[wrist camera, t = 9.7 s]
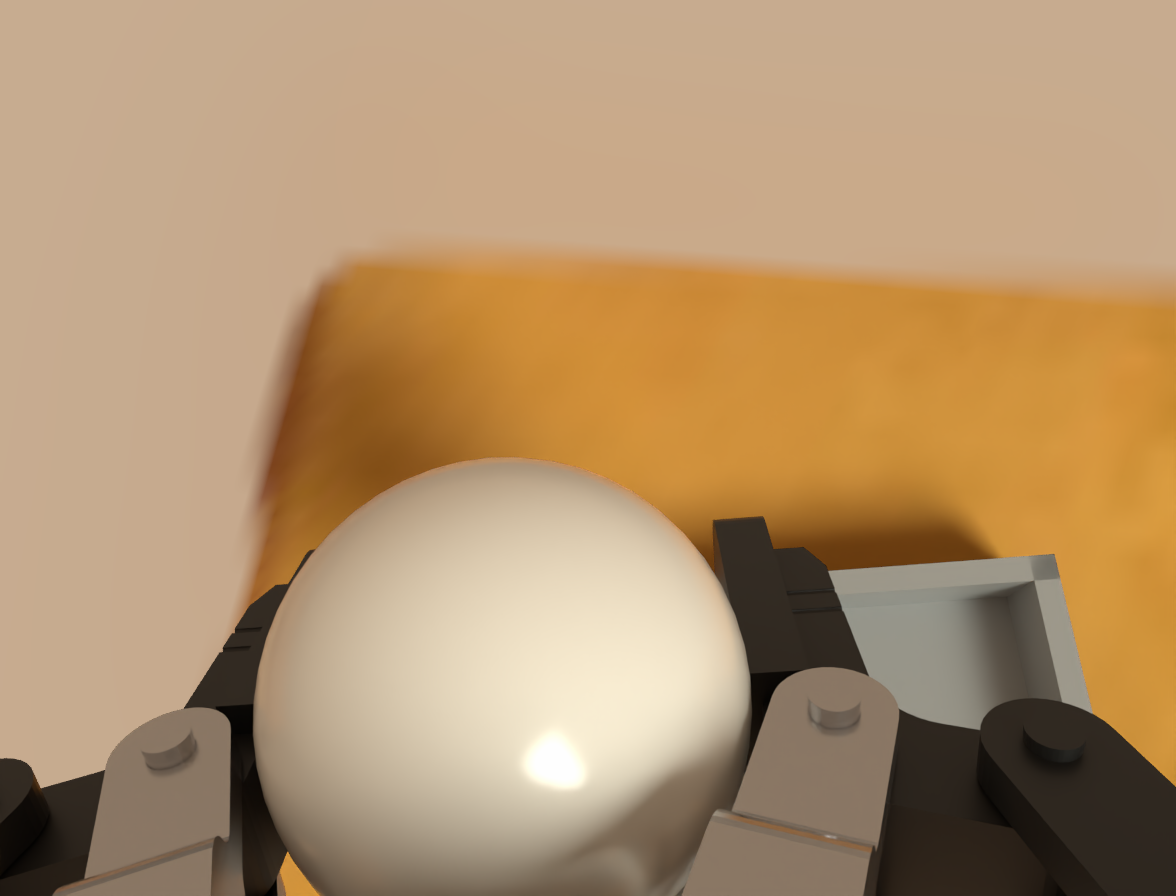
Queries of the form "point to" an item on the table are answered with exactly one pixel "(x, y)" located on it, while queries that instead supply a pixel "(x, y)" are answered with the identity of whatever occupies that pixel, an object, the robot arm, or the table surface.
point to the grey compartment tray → (964, 635)
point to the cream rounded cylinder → (502, 692)
